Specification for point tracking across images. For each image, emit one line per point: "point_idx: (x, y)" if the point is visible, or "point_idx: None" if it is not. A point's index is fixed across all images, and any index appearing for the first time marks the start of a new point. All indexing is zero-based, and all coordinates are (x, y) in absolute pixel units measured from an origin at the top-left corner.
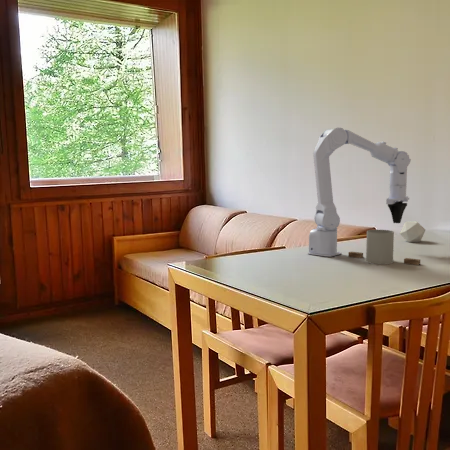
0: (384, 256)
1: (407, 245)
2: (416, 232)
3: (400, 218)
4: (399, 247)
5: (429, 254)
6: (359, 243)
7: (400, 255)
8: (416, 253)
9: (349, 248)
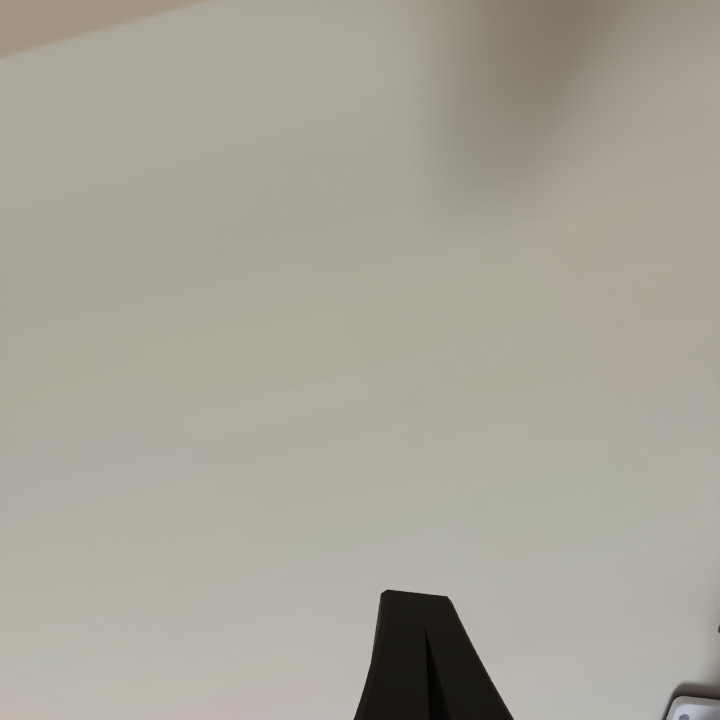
0: None
1: (42, 421)
2: None
3: (450, 661)
4: (179, 450)
5: (385, 127)
6: (188, 714)
7: (555, 343)
8: (392, 250)
9: None
